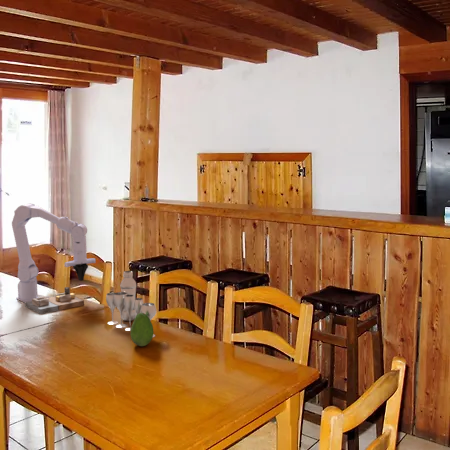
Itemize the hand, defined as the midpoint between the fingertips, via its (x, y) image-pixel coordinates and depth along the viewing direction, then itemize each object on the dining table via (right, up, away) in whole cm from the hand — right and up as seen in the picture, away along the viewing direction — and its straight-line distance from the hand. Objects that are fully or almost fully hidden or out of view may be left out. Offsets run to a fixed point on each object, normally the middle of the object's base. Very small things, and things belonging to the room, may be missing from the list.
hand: (81, 280), depth 251 cm
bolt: (-6, -8, -4) cm, 11 cm away
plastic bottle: (+27, -14, -29) cm, 42 cm away
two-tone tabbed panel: (-10, -11, -8) cm, 16 cm away
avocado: (+37, -17, -58) cm, 70 cm away
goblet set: (+29, -15, -40) cm, 52 cm away
